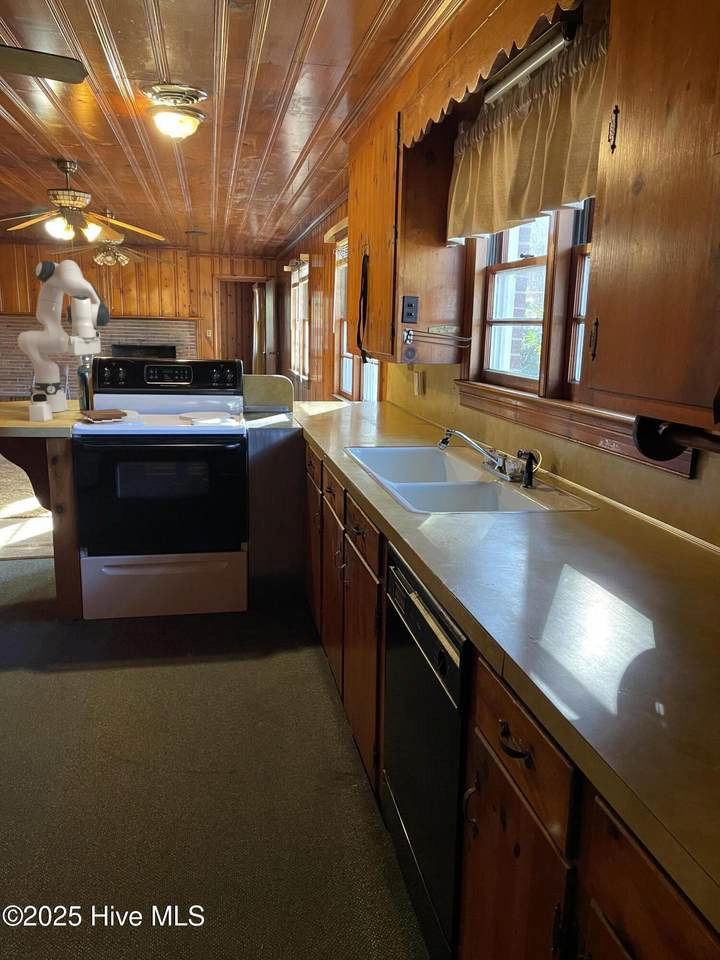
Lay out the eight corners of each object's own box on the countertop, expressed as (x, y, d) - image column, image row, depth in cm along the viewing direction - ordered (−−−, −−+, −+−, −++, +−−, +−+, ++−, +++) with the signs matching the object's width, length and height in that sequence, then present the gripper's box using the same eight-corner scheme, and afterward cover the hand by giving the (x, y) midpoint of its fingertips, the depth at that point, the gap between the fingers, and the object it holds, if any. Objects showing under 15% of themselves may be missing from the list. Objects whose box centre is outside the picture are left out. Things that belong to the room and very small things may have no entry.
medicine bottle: (52, 419, 323) (50, 393, 320) (44, 421, 316) (42, 395, 314) (38, 418, 324) (35, 392, 321) (29, 421, 317) (27, 394, 314)
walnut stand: (81, 419, 324) (81, 411, 323) (117, 417, 332) (116, 408, 332) (91, 424, 311) (90, 415, 310) (127, 421, 320) (127, 413, 319)
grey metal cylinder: (80, 371, 316) (79, 355, 314) (93, 371, 317) (92, 356, 315) (78, 372, 311) (77, 356, 309) (91, 372, 312) (90, 356, 310)
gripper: (76, 334, 299) (78, 366, 303) (102, 333, 319) (104, 364, 322) (62, 333, 301) (65, 366, 304) (89, 332, 320) (91, 363, 323)
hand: (85, 365), depth 313 cm, fingers closed on grey metal cylinder, 5 cm apart
